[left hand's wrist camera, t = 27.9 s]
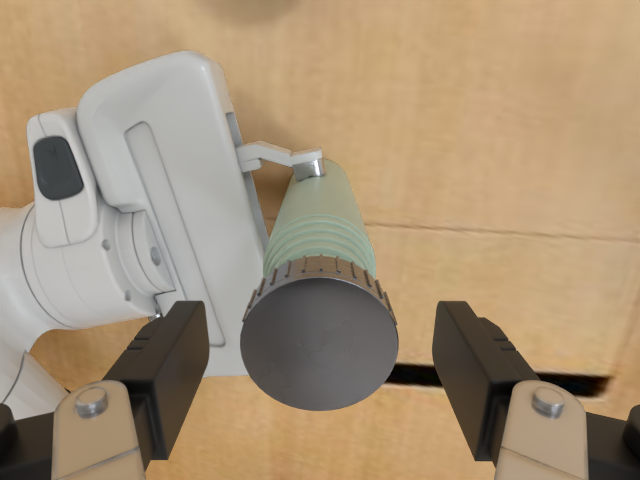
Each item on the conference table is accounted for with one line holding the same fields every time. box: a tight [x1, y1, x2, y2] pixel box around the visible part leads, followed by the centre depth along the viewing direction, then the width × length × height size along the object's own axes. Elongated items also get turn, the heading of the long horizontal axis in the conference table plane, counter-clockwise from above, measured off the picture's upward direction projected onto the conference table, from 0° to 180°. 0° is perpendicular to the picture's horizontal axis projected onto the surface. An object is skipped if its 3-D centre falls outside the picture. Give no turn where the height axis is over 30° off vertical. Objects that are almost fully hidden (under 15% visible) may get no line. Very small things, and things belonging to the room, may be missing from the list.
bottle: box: [263, 159, 376, 279], centre depth 21 cm, size 5×5×20 cm
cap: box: [240, 254, 398, 411], centre depth 12 cm, size 4×4×2 cm
